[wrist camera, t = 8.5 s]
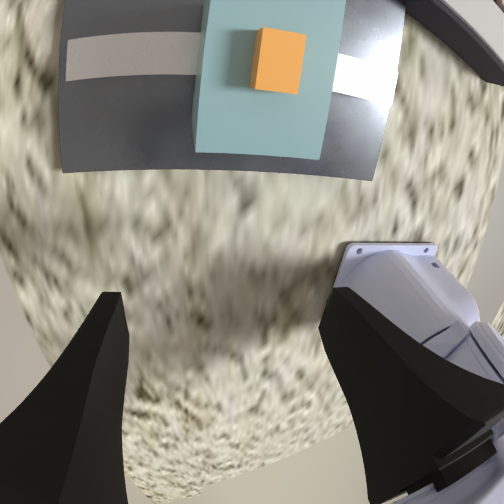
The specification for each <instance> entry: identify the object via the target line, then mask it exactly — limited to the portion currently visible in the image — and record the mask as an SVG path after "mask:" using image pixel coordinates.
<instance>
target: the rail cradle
mask: <svg viewBox="0 0 504 504" xmlns="http://www.w3.org/2000/svg"><path fill="white" fill-rule="evenodd" d="M203 5H204V0H65V6H64V13H63V21H62V31H61V42H60V56H59V82H58V108H59V134H60V150H61V161H62V172H63V173H74V172H91V171H112V170H148V169H200V170H237V171H259V172H277V173H292V174H305V175H317V176H329V177H339V178H349V179H358V180H367V181H372V180H373V176H374V172H375V168H376V164H377V160H378V156H379V152H380V148H381V144H382V140H383V136H384V131H385V127H386V122H387V118H388V113H389V108H390V106H391V105H392V100H393V95H394V90H395V85H396V80H397V74H398V72H397V66H398V60H399V54H400V47H401V40H402V33H403V26H404V18H405V9H406V3H405V2H404V0H346V4H345V12H344V19H343V26H342V33H341V40H340V47H339V53H338V59H337V66H336V72H335V78H334V84H333V90H332V95H331V101H330V107H329V112H328V118H327V123H326V128H325V134H324V139H323V144H322V149H321V154H320V159H319V160H314V159H304V158H293V157H281V156H268V155H252V154H233V153H205V152H195V146H194V137H193V128H192V119H191V118H192V105H193V93H194V90H195V79H196V69H197V60H198V50H199V42H200V33H201V28H200V27H201V19H202V12H203Z"/></svg>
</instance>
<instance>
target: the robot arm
mask: <svg viewBox="0 0 504 504" xmlns="http://www.w3.org/2000/svg"><path fill="white" fill-rule="evenodd" d="M359 248H360V249H359ZM358 249H359V250H358ZM437 249H438V246H437V245H436V244H435V243H351V244H349V245H348V246H347V247H346V249H345V252H344V255H343V259H342V262H341V265H340V268H339V271H338V274H337V277H336V280H335V283H334V286H333V289H332V292H331V294H330V297H329V300H328V303H327V306H326V309H325V311H324V314H323V317H322V319H321V322H320V325H319V327H318V328H319V331H320V335H321V339H322V342H323V345H324V349H325V352H326V354H327V357H328V359H329V361H330V363H331V366H332V368H333V370H334V373H335V375H336V377H337V379H338V382H339V384H340V386H341V388H342V391H343V393H344V395H345V397H346V400H347V402H348V405H349V408H350V410H351V414H352V417H353V421H354V424H355V427H356V431H357V435H358V439H359V443H360V447H361V451H362V457H363V463H364V468H365V475H366V483H367V490H368V491H367V492H368V500H369V502H370V504H382V503H384V502H386V501H388V500H391V499H393V498H395V497H398V496H400V495H402V494H404V493H406V492H407V493H408V496H406V497H404V498H402V499H400V500H397V501H395V502H393V503H391V504H504V339H503V338H502V337H501V336H500V334H499V333H498V332H497V331H496V330H495V329H494V328H493V327H492V326H491V325H490V324H489V323H488V322H480V315H479V311H478V307H477V304H476V302H475V300H474V298H473V297H472V295H471V294H470V293H469V292H468V291H467V290H466V288H465V287H464V286H463V285H462V284H461V283H460V282H459V281H458V280H457V279H456V278H455V276H454V275H453V274H452V273H451V272H450V271H449V270H448V269H447V268H446V267H445V266H444V265H443V264H442V263H441V262H440V261H439V260H438V259H437V258H436V257H435V254H436V252H437ZM357 250H358V251H357ZM128 358H129V332H128V327H127V322H126V317H125V312H124V306H123V301H122V295H121V292H102V293H101V294H100V296H99V298H98V299H97V301H96V303H95V304H94V306H93V307H92V309H91V311H90V312H89V314H88V315H87V317H86V319H85V320H84V322H83V323H82V325H81V326H80V328H79V329H78V331H77V332H76V334H75V335H74V337H73V338H72V340H71V341H70V343H69V344H68V346H67V347H66V348H65V350H64V351H63V353H62V354H61V355H60V357H59V358H58V360H57V361H56V362H55V364H54V365H53V366H52V368H51V369H50V370H49V372H48V373H47V374H46V375H45V376H44V378H43V379H42V380H41V381H40V383H39V384H38V385H37V386H36V387H35V388H34V389H33V391H32V392H31V393H30V394H29V395H28V396H27V397H26V398H25V400H24V401H23V402H22V403H21V404H20V405H19V406H18V407H17V408H16V409H15V410H14V411H13V412H12V413H11V414H10V415H9V416H8V417H6V418H5V419H4V420H3V422H1V423H0V504H128V501H127V494H126V487H125V486H126V485H125V477H124V466H123V452H122V415H123V404H124V395H125V386H126V378H127V370H128Z"/></svg>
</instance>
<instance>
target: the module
mask: <svg viewBox="0 0 504 504" xmlns="http://www.w3.org/2000/svg"><path fill="white" fill-rule="evenodd" d="M345 4H346V0H204V5H203V12H202V19H201V27H200V28H201V33H200V42H199V50H198V60H197V69H196V79H195V90H194V93H193V105H192V118H191V119H192V128H193V137H194V146H195V152H205V153H233V154H252V155H268V156H281V157H293V158H304V159H314V160H319V159H320V154H321V149H322V144H323V139H324V134H325V128H326V123H327V118H328V112H329V107H330V101H331V95H332V90H333V84H334V78H335V72H336V66H337V59H338V53H339V47H340V40H341V33H342V26H343V19H344V12H345Z"/></svg>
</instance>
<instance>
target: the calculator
mask: <svg viewBox="0 0 504 504" xmlns="http://www.w3.org/2000/svg"><path fill="white" fill-rule="evenodd" d="M404 2H405V3H406V9H405V12H406V13H407V14H409V15H410V16H411V17H413V18H414V19H415V20H417V21H418V22H419V23H421V24H422V25H423V26H425V27H426V28H427V29H428V30H430V31H431V32H432V33H433V34H435V35H436V36H437V37H438V38H440V39H441V40H442V41H443V42H444V43H446V44H447V45H448V46H449V47H450V48H451V49H452V50H454V51H455V52H456V53H457V54H458V55H459V56H460V57H461V58H462V59H463V60H464V61H466V62H467V63H468V64H469V65H470V66H471V67H472V68H473V69H474V70H475V71H476V72H477V73H478V74H479V75H480V76H481V77H482V78H483V79H484V80H485V81H486V82H488V83H493V84H497V85H501V86H504V0H404Z"/></svg>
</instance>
